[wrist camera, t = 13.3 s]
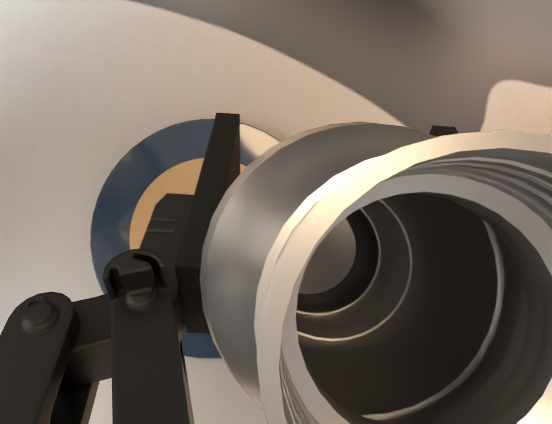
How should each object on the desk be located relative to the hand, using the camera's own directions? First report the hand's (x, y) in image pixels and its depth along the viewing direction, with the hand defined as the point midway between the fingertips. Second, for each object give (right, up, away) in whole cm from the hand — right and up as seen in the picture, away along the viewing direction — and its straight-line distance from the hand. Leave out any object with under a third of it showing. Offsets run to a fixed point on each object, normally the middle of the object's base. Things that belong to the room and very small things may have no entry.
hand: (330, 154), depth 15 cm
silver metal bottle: (0, -4, +9) cm, 9 cm away
